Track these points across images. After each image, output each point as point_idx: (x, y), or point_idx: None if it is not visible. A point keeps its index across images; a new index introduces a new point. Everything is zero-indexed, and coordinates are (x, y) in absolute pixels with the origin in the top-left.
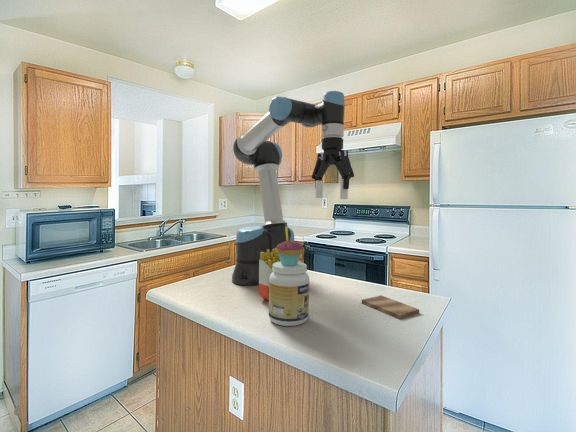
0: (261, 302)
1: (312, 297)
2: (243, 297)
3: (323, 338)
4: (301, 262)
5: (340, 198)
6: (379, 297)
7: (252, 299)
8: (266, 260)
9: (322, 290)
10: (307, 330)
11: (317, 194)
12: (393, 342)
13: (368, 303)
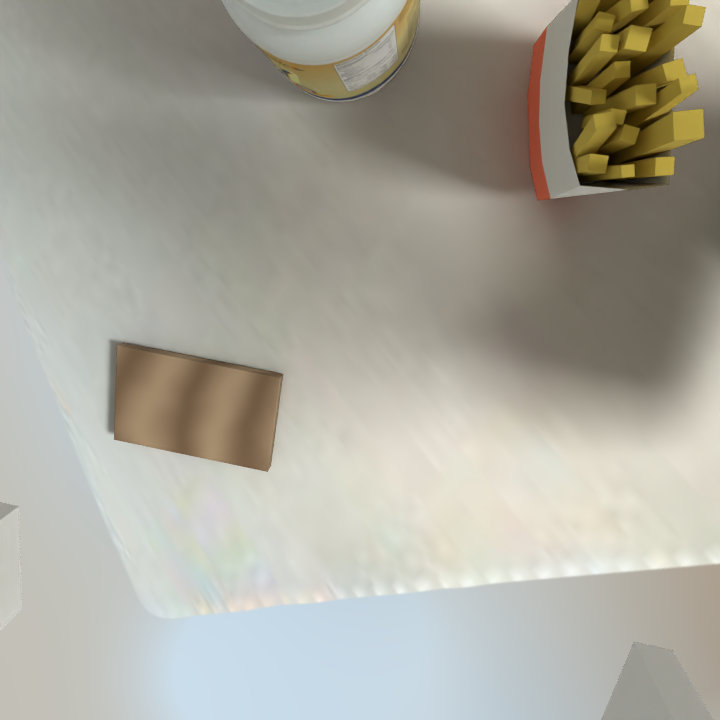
0: None
1: (446, 278)
2: None
3: (156, 11)
4: (299, 15)
5: (2, 508)
6: (256, 446)
7: None
8: (646, 15)
9: (476, 378)
10: None
11: (658, 715)
12: (32, 176)
13: (247, 370)
